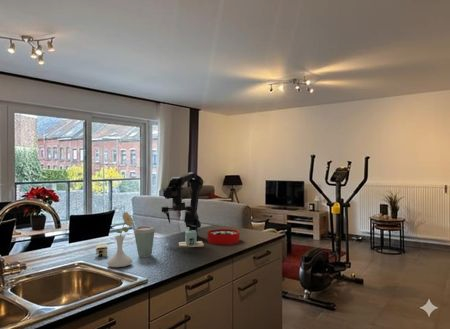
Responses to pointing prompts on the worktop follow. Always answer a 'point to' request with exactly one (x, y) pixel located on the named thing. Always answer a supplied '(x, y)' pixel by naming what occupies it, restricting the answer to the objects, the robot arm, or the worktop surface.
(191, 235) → the block
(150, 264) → the worktop surface
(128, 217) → the flower in vase
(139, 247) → the disposable coffee cup
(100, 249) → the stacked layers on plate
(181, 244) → the cleat board
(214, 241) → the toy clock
